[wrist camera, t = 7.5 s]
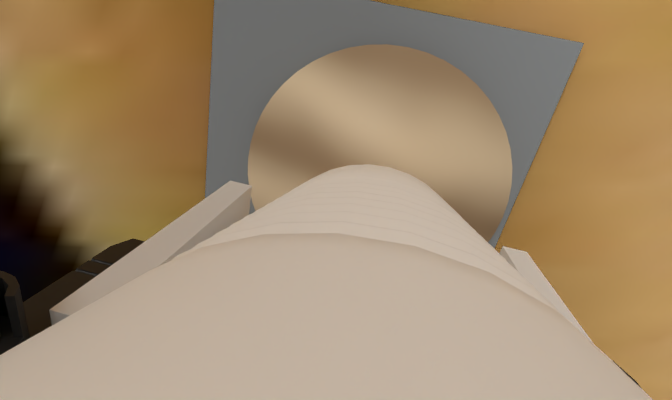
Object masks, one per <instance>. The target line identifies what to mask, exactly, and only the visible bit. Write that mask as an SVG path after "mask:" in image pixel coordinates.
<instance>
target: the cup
mask: <svg viewBox="0 0 672 400" xmlns="http://www.w3.org/2000/svg"><path fill="white" fill-rule="evenodd" d="M0 400H653V399H652V398H651V397H650V396H649V395H648V394H646V393H645V392H644V391H643V390H642V389H641V388H640V387H639V386H638V385H637V384H636V383H635V382H634V381H633V380H632V379H631V378H630V377H629V376H628V375H627V374H626V373H625V372H623V371H622V370H621V369H620V368H619V367H618V366H617V365H616V364H615V363H614V362H613V361H612V360H611V359H610V358H609V357H608V356H607V355H606V354H605V353H603V352H602V351H601V350H600V349H599V348H598V347H597V346H595V345H594V344H593V343H592V342H591V341H590V340H589V339H588V338H586V337H585V336H584V335H583V334H582V333H581V332H580V331H579V330H578V329H577V327H576V326H575V325H573V324H572V323H571V322H570V321H569V320H568V319H567V318H565V317H564V316H563V315H562V314H561V313H560V312H559V311H558V310H556V308H555V307H554V305H553V304H552V303H550V302H549V301H548V300H547V299H546V298H545V297H544V296H543V295H541V294H540V293H539V292H538V291H537V290H536V289H535V287H534V286H533V285H532V284H531V283H529V282H528V281H527V280H526V279H525V278H524V277H523V276H522V275H521V274H520V273H519V272H518V271H517V270H516V269H515V268H514V267H513V266H512V265H510V264H509V263H508V262H507V261H506V259H505V258H504V257H503V256H501V255H500V254H499V253H498V252H497V251H496V250H495V249H494V248H493V247H492V246H491V245H490V244H489V243H488V242H487V241H485V239H484V238H483V237H482V236H481V235H479V234H478V233H477V232H476V230H474V229H473V228H472V227H471V226H470V225H469V224H468V223H467V222H466V221H465V220H464V219H463V218H462V217H461V216H460V215H459V214H458V213H457V212H456V211H455V210H454V209H453V208H452V207H451V206H450V205H449V204H448V203H447V202H446V201H445V200H443V199H442V198H441V197H440V196H439V195H438V194H437V193H436V192H435V191H434V190H432V189H431V188H430V187H429V186H428V185H427V184H425V183H424V182H422V181H420V180H419V179H417V178H415V177H413V176H412V175H410V174H408V173H405V172H402V171H399V170H396V169H393V168H391V167H385V166H378V165H371V164H363V165H348V166H344V167H339V168H335V169H331V170H329V171H327V172H324V173H322V174H320V175H318V176H316V177H314V178H312V179H310V180H308V181H307V182H305V183H303V184H301V185H300V186H298V187H296V188H294V189H292V190H291V191H290V192H288V193H286V194H284V195H283V196H281V197H279V198H277V199H276V200H274V201H273V202H270V203H268V204H267V205H265V206H264V207H262V208H260V209H258V210H256V211H255V212H254V213H252V214H249V215H247V216H246V217H244V218H243V219H242V220H240V221H237V222H235V223H233V224H232V225H230V226H229V227H228V228H226V229H224V230H222V231H219V232H217V233H216V234H215V235H213V236H212V237H211V238H208V239H206V240H204V241H202V242H200V243H198V244H197V245H196V246H194V247H193V248H192V249H190V250H188V251H185V252H183V253H181V254H179V255H177V256H176V257H174V258H173V259H172V260H171V261H169V262H167V263H165V264H163V265H160V266H158V267H156V268H154V269H151V270H149V271H148V272H146V273H144V274H142V275H141V276H139V277H137V278H135V279H134V280H132V281H130V282H128V283H127V284H125V285H123V286H121V287H119V288H118V289H116V290H114V291H112V292H111V293H109V294H107V295H105V296H104V297H102V298H100V299H98V300H97V301H95V302H93V303H91V304H89V305H88V306H86V307H84V308H82V309H81V310H79V311H77V312H75V313H74V314H72V315H70V316H68V317H66V318H65V319H63V320H61V321H59V322H58V323H56V324H54V325H52V326H51V327H49V328H47V329H45V330H43V331H42V332H40V333H38V334H36V335H35V336H33V337H31V338H29V339H28V340H26V341H24V342H22V343H21V344H19V345H17V346H15V347H13V348H12V349H10V350H8V351H6V352H5V353H3V354H1V355H0Z"/></svg>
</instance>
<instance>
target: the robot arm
mask: <svg viewBox="0 0 672 400" xmlns="http://www.w3.org/2000/svg"><path fill="white" fill-rule="evenodd" d="M251 191H252V186H251V185H247V184H242V183H238V182H234V181H229V182H228V183H226V184H225V185H223V186H222V187H221V188H219V189H218V190H216V191H215V192H214V193H212V194H211V195H209V196H208V197H207V198H205V199H204V200H202V201H201V202H200V203H198V204H197V205H195V206H194V207H193V208H191V209H190V210H188V211H187V212H186V213H184V214H183V215H181V216H180V217H179V218H177V219H176V220H174V221H173V222H172V223H170V224H169V225H167V226H166V227H165V228H163V229H162V230H160V231H159V232H158V233H156V234H155V235H153V236H152V237H151V238H149V239H148V240H146V241H145V242H144V241H140V240H136V239H130V240H128V241H125V242H122V243H119V244H116V245H113V246H110V247H109V248H107V249H106V250H104V251H102V252H101V253H99V254H98V255H96V256H95V257H93V258H92V260H91V261H89V260H88V261H87V262H85V263H84V264H82V265H81V266H79V267H78V268H77V269H76V271H71V272H70V273H68V274H67V275H65V276H64V277H62V278H60V279H59V280H57V281H56V282H54V283H53V284H51V285H50V286H48V287H47V288H45V289H43V290H42V291H40V292H39V293H37V294H36V295H34V296H33V297H31V298H29V299H28V300H26V301H25V302H23V301H22V296H21V292H20V287H19V284H18V282H17V280H16V277H14V276H12V275H10V274H8V273H6V272H3V271H0V355H1V354H3V353H5V352H6V351H8V350H10V349H12V348H13V347H15V346H17V345H19V344H21V343H22V342H24V341H26V340H28V339H29V338H31V337H33V336H35V335H36V334H38V333H40V332H42V331H43V330H45V329H47V328H49V327H51V326H52V325H54V324H56V323H58V322H59V321H61V320H63V319H65V318H66V317H68V316H70V315H72V314H74V313H75V312H77V311H79V310H81V309H82V308H84V307H86V306H88V305H89V304H91V303H93V302H95V301H97V300H98V299H100V298H102V297H104V296H105V295H107V294H109V293H111V292H112V291H114V290H116V289H118V288H119V287H121V286H123V285H125V284H127V283H128V282H130V281H132V280H134V279H135V278H137V277H139V276H141V275H142V274H144V273H146V272H148V271H149V270H151V269H154V268H156V267H158V266H160V265H163V264H165V263H167V262H169V261H171V260H172V259H173V258H174V257H176V256H177V255H179V254H181V253H183V252H185V251H188V250H190V249H192V248H193V247H194V246H196V245H197V244H198V243H200V242H202V241H204V240H206V239H208V238H211V237H212V236H213V235H215V234H216V233H217V232H219V231H222V230H224V229H226V228H228V227H229V226H230V225H232V224H233V223H235V222H237V221H240V220H242V219H243V218H244V217H246V216H247V215H249V210H250V200H251ZM499 254H500V255H501V256H503V257H504V258H505V259H506V261H507V262H508V263H509V264H510V265H512V266H513V267H514V268H515V269H516V270H517V271H518V272H519V273H520V274H521V275H522V276H523V277H524V278H525V279H526V280H527V281H528V282H529V283H531V284H532V285H533V286H534V287H535V289H536V290H537V291H538V292H539V293H540V294H541V295H543V296H544V297H545V298H546V299H547V300H548V301H549V302H550V303H552V304H553V305H554V307H555V308H556V310H558V311H559V312H560V313H561V314H562V315H563V316H564V317H565V318H567V319H568V320H569V321H570V322H571V323H572V324H573V325H575V326H576V327H577V329H578V330H579V331H580V332H581V333H582V334H583V335H584V336H585V337H586V338H588V339H589V340H590V341H591V339H590V338H589V337H588V335H587V334H586V333H585V331H584V330H583V328H582V327H581V326H580V324H579V323H578V322H577V320H576V319H575V317H574V316H573V315H572V313H571V312H570V311H569V309H568V308H567V306H566V305H565V304H564V302H563V301H562V300H561V298H560V297H559V296H558V294H557V293H556V291H555V290H554V289H553V287H552V286H551V285H550V283H549V282H548V280H547V279H546V278H545V276H544V275H543V274H542V272H541V271H540V269H539V268H538V267H537V265H536V264H535V263H534V261H533V260H532V258H531V257H530V256H529V254H528V253H527V252H525V251H521V250H517V249H513V248H508V247H504V246H502V248H501V251H500V253H499ZM591 342H592V341H591ZM592 343H593V342H592ZM612 361H613V360H612ZM613 362H614V361H613ZM614 363H615V362H614ZM615 364H616V363H615ZM616 365H617V364H616ZM617 366H618V365H617ZM618 367H619V366H618ZM619 368H620V367H619ZM620 369H621V370H622V371H623V372H625V371H624V370H623V369H622V368H620ZM625 373H626V372H625ZM626 374H627V373H626ZM627 375H628V374H627ZM628 376H629V375H628ZM629 377H630V378H631V379H632V380H633V381H634V382H635V383H636V384H637V385H638V383H637V382H636V381H635V380H634V379H633V378H632V377H631V376H629ZM638 386H639V385H638ZM639 387H640V386H639ZM640 388H641V387H640ZM641 389H642V388H641Z"/></svg>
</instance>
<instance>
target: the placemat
mask: <svg viewBox="0 0 672 400" xmlns="http://www.w3.org/2000/svg"><path fill="white" fill-rule="evenodd" d="M382 44H388V45H396V46H403V47H409V48H413V49H416V50H420V51H423V52H427V53H429V54H431V55H434V56H436V57H438V58H440V59H443V60H445V61H447V62H448V63H450V64H451V65H453V66H454V67H456V68H457V69H459V70H461V71H462V72H463V73H464V74H466V75H467V76H468V77H469V78H470V79H471V80H472V81H474V82H475V83H476V84H477V85H478V86H479V88H480V89H481V90H482V91H483V92H484V93H485V95H486V96H487V97H488V98H489V100H490V101H491V103H492V104H493V106H494V108H495V109H496V111H497V113H498V114H499V116H500V119H501V121H502V123H503V126H504V128H505V130H506V133H507V137H508V141H509V145H510V149H511V158H512V185H511V190H510V195H509V201H508V204H507V207H506V210H505V212H504V215H503V218H502V220H501V222H500V224H499V226H498V228H497V230H496V232H495V233H494V235H493V236H492V238H491V239H490V240H489V242H488V243H489V244H490V245H491V246H492V247H493V248H495V246H496V244H497V242H498V239H499V237H500V235H501V232H502V230H503V228H504V225H505V223H506V221H507V219H508V216H509V214H510V212H511V209H512V207H513V205H514V203H515V200H516V198H517V196H518V193H519V191H520V189H521V186H522V184H523V182H524V180H525V177H526V175H527V173H528V170H529V168H530V166H531V164H532V161H533V159H534V157H535V154H536V152H537V150H538V147H539V145H540V143H541V141H542V138H543V136H544V134H545V131H546V129H547V127H548V125H549V122H550V120H551V118H552V115H553V113H554V111H555V108H556V106H557V104H558V102H559V99H560V97H561V95H562V92H563V90H564V88H565V86H566V83H567V81H568V79H569V76H570V74H571V72H572V69H573V67H574V65H575V63H576V60H577V58H578V56H579V53H580V51H581V49H582V47H583V44H584V43H580V42H575V41H570V40H565V39H560V38H555V37H550V36H545V35H540V34H535V33H530V32H525V31H520V30H515V29H510V28H505V27H500V26H495V25H490V24H485V23H480V22H475V21H470V20H465V19H460V18H455V17H450V16H445V15H440V14H435V13H430V12H425V11H420V10H415V9H410V8H405V7H400V6H395V5H390V4H385V3H380V2H375V1H370V0H214V19H213V40H212V61H211V83H210V104H209V125H208V147H207V168H206V190H205V198H207V197H208V196H209V195H211V194H212V193H214V192H215V191H216V190H218V189H219V188H221V187H222V186H223V185H225V184H226V183H228V182H229V181H234V182H238V183H242V184H247V185H249V181H248V156H249V150H250V144H251V140H252V137H253V133H254V130H255V127H256V124H257V122H258V120H259V118H260V116H261V114H262V112H263V110H264V108H265V107H266V105H267V104H268V102H269V101H270V99H271V98H272V96H273V95H274V94H275V93H276V92H277V90H278V89H279V88H280V87H281V86H282V85H283V83H285V82H286V81H287V80H288V79H289V78H290V77H291V76H293V75H294V74H295V73H296V72H297V71H299V70H300V69H302V68H303V67H305V66H306V65H308V64H309V63H311V62H313V61H315V60H317V59H319V58H321V57H323V56H325V55H327V54H330V53H333V52H336V51H339V50H343V49H346V48H350V47H356V46H363V45H382ZM254 212H255V208H254V206H253V202H252V198H251V200H250V210H249V214H252V213H254Z"/></svg>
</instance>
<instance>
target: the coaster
mask: <svg viewBox="0 0 672 400" xmlns="http://www.w3.org/2000/svg"><path fill="white" fill-rule="evenodd" d="M363 164H371V165H378V166H385V167H391V168H393V169H396V170H399V171H402V172H405V173H408V174H410V175H412V176H413V177H415V178H417V179H419V180H420V181H422V182H424V183H425V184H427V185H428V186H429V187H430V188H431V189H432V190H434V191H435V192H436V193H437V194H438V195H439V196H440V197H441V198H442V199H443V200H445V201H446V202H447V203H448V204H449V205H450V206H451V207H452V208H453V209H454V210H455V211H456V212H457V213H458V214H459V215H460V216H461V217H462V218H463V219H464V220H465V221H466V222H467V223H468V224H469V225H470V226H471V227H472V228H473V229H474V230H476V232H477V233H478V234H479V235H481V236H482V237H483V238H484V239H485V241H487V242H489V240H490V239H491V238H492V236H493V235H494V233H495V232H496V230H497V228H498V226H499V224H500V222H501V220H502V218H503V215H504V212H505V210H506V207H507V204H508V201H509V195H510V190H511V185H512V158H511V149H510V145H509V141H508V137H507V133H506V130H505V128H504V126H503V123H502V121H501V119H500V116H499V114H498V113H497V111H496V109H495V108H494V106H493V104H492V103H491V101H490V100H489V98H488V97H487V96H486V95H485V93H484V92H483V91H482V90H481V89H480V88H479V86H478V85H477V84H476V83H475V82H474V81H472V80H471V79H470V78H469V77H468V76H467V75H466V74H464V73H463V72H462V71H461V70H459V69H457V68H456V67H454V66H453V65H451V64H450V63H448V62H447V61H445V60H443V59H440V58H438V57H436V56H434V55H431V54H429V53H427V52H423V51H420V50H416V49H413V48H409V47H403V46H396V45H388V44H382V45H363V46H356V47H350V48H346V49H343V50H339V51H336V52H333V53H330V54H327V55H325V56H323V57H321V58H319V59H317V60H315V61H313V62H311V63H309V64H308V65H306V66H305V67H303V68H302V69H300V70H299V71H297V72H296V73H295V74H294V75H293V76H291V77H290V78H289V79H288V80H287V81H286V82H285V83H283V85H282V86H281V87H280V88H279V89H278V90H277V92H276V93H275V94H274V95H273V96H272V98H271V99H270V101H269V102H268V104H267V105H266V107H265V108H264V110H263V112H262V114H261V116H260V118H259V120H258V122H257V124H256V127H255V130H254V133H253V137H252V140H251V144H250V150H249V156H248V181H249V185H251V186H252V191H251V198H252V202H253V206H254V208H255V211H256V210H258V209H260V208H262V207H264V206H265V205H267V204H268V203H270V202H273V201H274V200H276V199H277V198H279V197H281V196H283V195H284V194H286V193H288V192H290V191H291V190H292V189H294V188H296V187H298V186H300V185H301V184H303V183H305V182H307V181H308V180H310V179H312V178H314V177H316V176H318V175H320V174H322V173H324V172H327V171H329V170H331V169H335V168H339V167H344V166H348V165H363Z"/></svg>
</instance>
